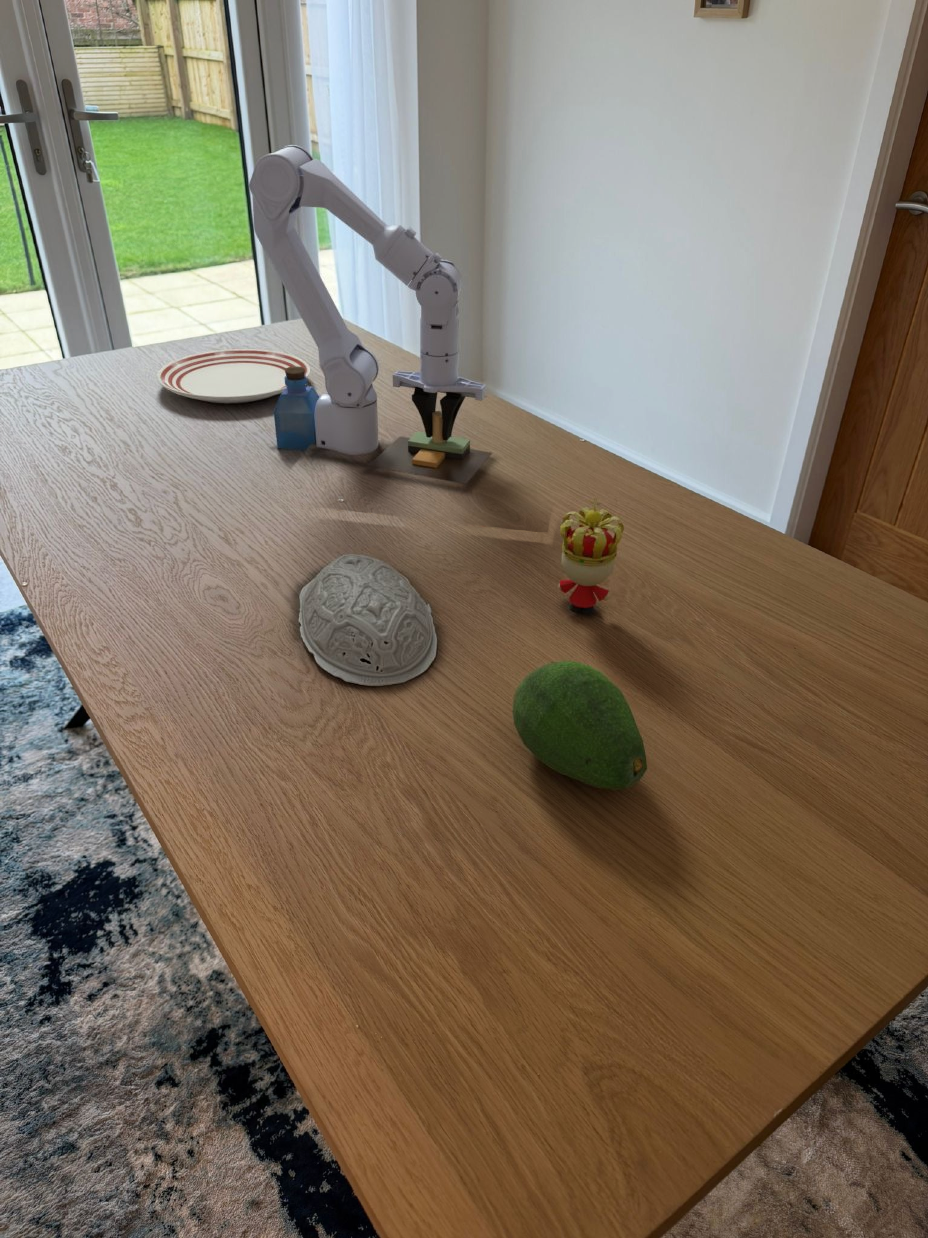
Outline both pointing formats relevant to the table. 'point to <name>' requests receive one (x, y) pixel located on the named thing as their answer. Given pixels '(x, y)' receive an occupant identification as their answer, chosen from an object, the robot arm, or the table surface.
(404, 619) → the grey turtle shell
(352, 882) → the table surface
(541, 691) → the fruit
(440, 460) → the orange flat square block
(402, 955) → the table surface
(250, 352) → the dinner plate
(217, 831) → the table surface
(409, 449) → the brush
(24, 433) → the table surface
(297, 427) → the perfume bottle
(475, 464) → the tray
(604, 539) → the toy
